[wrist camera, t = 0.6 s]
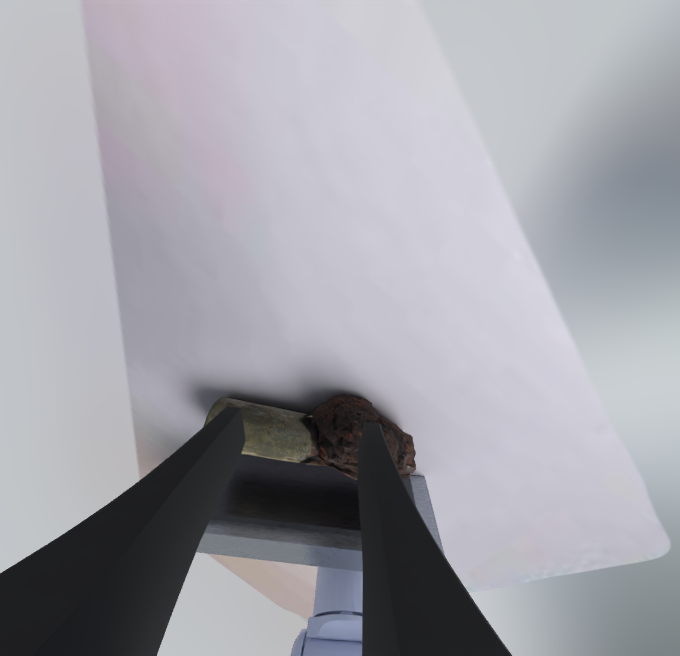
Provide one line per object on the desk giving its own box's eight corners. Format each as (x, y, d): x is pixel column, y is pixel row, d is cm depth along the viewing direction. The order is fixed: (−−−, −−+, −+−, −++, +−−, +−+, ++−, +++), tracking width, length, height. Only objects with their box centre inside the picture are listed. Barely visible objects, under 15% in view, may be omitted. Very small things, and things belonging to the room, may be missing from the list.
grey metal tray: (415, 497, 28) (432, 579, 22) (214, 473, 28) (174, 549, 22) (426, 471, 26) (449, 555, 20) (207, 446, 26) (160, 522, 20)
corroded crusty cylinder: (230, 421, 24) (197, 476, 19) (225, 368, 21) (185, 417, 16) (401, 446, 25) (412, 508, 20) (420, 398, 21) (439, 455, 16)
